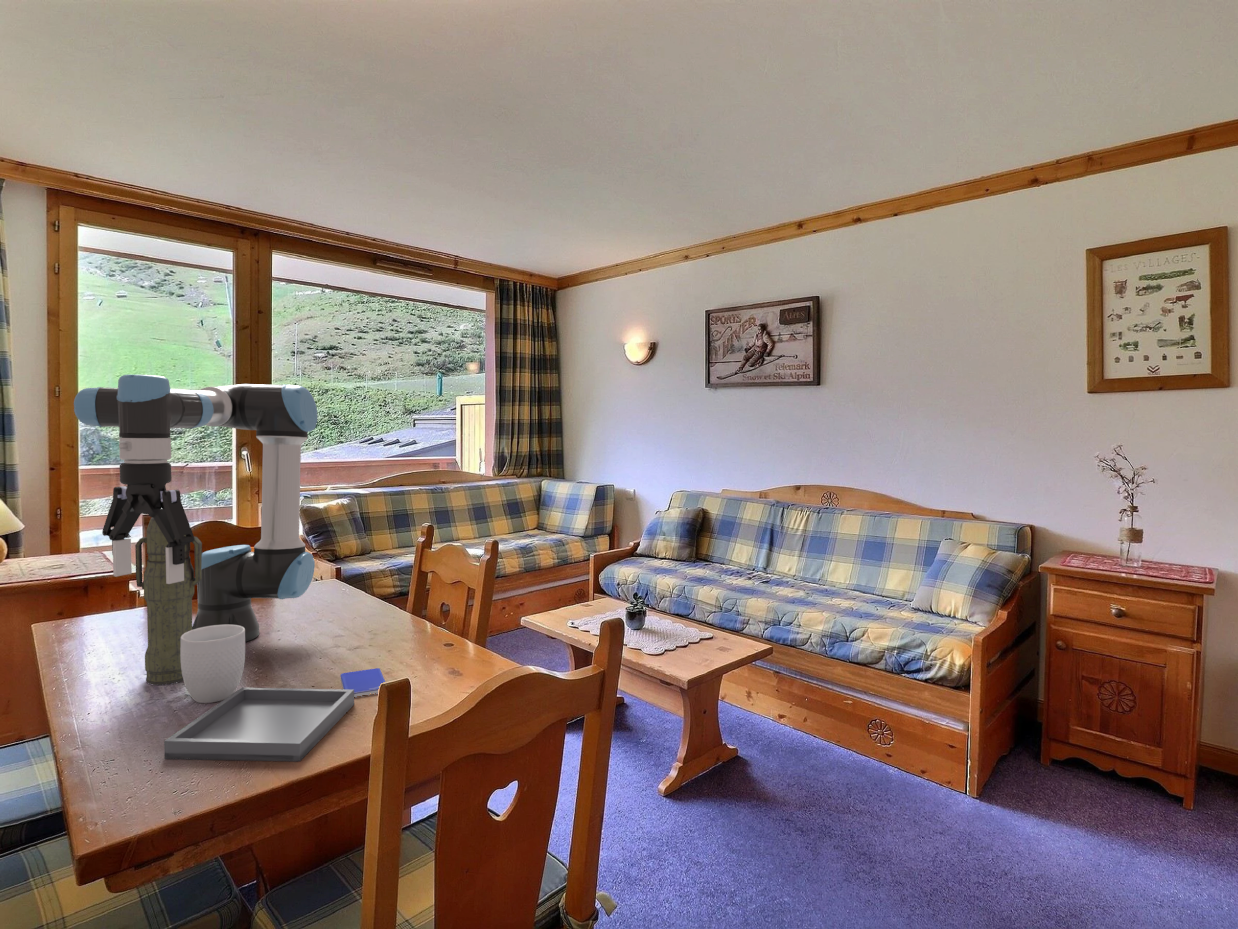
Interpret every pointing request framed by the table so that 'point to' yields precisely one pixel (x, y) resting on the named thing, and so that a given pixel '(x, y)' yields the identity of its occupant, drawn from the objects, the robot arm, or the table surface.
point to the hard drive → (362, 681)
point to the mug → (212, 661)
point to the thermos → (165, 605)
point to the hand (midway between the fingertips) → (148, 578)
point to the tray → (261, 725)
